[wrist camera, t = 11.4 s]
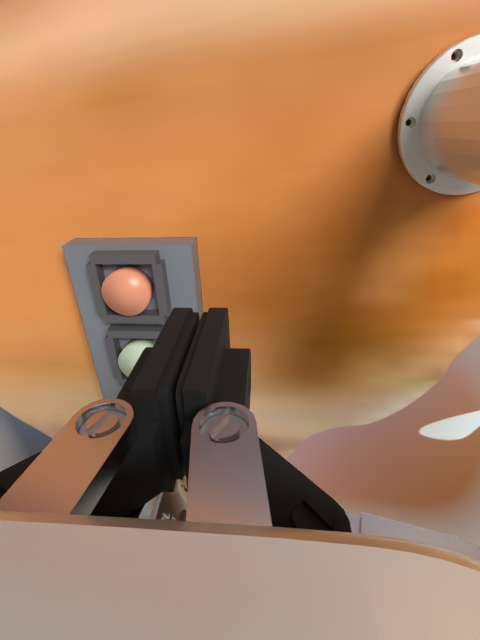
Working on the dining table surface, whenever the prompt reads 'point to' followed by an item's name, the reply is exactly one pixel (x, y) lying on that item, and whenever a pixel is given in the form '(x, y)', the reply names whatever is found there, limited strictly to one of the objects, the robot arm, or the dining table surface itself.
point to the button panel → (169, 292)
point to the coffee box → (171, 503)
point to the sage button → (132, 354)
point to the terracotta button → (127, 290)
